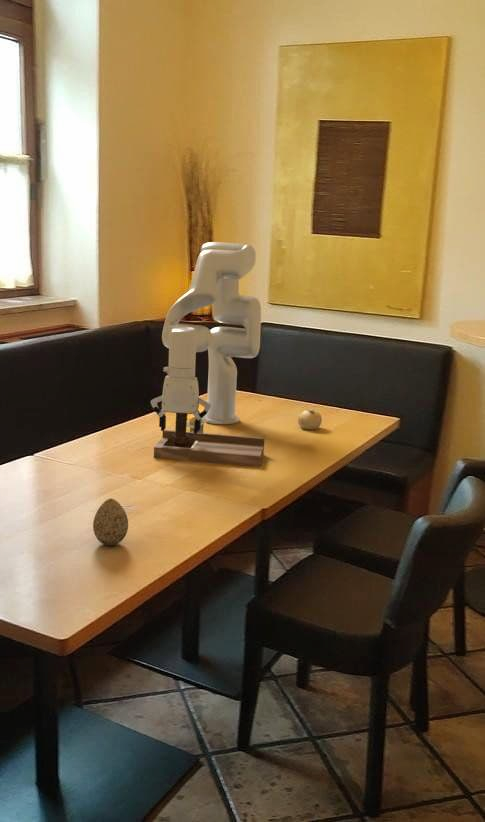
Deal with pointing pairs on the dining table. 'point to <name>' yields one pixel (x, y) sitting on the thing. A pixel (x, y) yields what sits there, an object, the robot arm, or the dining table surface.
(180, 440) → the bolt
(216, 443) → the brown wooden long tray
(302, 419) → the onion
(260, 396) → the dining table surface
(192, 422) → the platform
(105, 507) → the decorative egg
